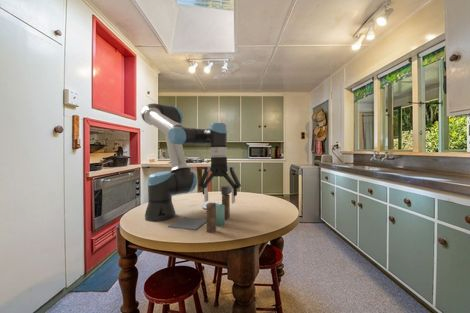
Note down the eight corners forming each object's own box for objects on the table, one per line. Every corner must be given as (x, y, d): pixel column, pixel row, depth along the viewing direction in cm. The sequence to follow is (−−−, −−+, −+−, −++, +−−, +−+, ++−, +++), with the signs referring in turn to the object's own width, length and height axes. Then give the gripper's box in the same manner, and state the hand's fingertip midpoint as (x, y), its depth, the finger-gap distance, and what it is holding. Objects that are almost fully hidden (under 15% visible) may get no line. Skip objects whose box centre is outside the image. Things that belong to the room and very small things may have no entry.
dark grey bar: (221, 195, 110) (221, 186, 110) (235, 187, 132) (235, 180, 132) (227, 195, 109) (227, 187, 109) (240, 187, 131) (240, 180, 131)
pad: (168, 226, 101) (168, 225, 101) (184, 217, 114) (184, 216, 114) (195, 230, 96) (195, 229, 96) (209, 220, 110) (209, 219, 110)
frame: (206, 232, 94) (206, 204, 94) (224, 217, 114) (224, 194, 114) (213, 232, 93) (213, 204, 93) (229, 217, 113) (229, 194, 113)
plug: (212, 225, 102) (212, 206, 102) (216, 222, 107) (216, 203, 107) (222, 226, 101) (222, 207, 100) (226, 223, 105) (225, 204, 105)
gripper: (190, 157, 103) (191, 202, 103) (242, 156, 95) (243, 205, 96) (198, 156, 110) (199, 198, 111) (246, 156, 102) (247, 201, 103)
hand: (219, 202), depth 103 cm, fingers open, 13 cm apart
